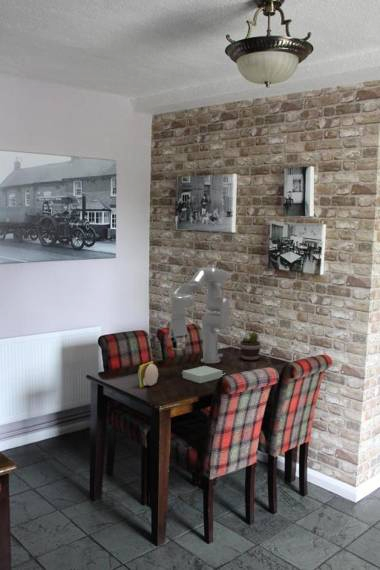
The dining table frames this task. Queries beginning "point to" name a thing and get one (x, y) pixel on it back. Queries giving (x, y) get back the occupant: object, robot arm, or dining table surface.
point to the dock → (202, 374)
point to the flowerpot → (250, 347)
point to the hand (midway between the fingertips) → (178, 346)
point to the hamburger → (147, 374)
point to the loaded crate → (180, 343)
